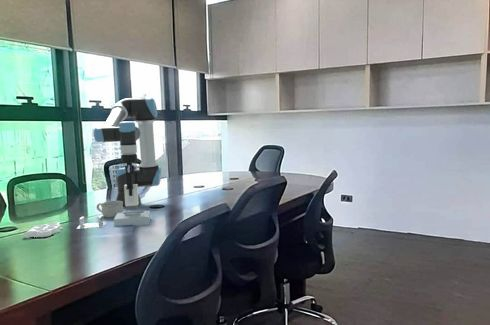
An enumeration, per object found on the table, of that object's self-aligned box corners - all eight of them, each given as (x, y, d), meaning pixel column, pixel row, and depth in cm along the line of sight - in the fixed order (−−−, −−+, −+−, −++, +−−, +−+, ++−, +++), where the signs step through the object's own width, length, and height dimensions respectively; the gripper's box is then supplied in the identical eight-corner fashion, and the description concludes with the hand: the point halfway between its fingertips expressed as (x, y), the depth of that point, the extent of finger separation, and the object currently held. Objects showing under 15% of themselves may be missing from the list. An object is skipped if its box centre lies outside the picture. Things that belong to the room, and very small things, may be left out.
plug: (126, 208, 196) (124, 184, 195) (138, 207, 197) (137, 183, 196) (125, 210, 192) (124, 185, 191) (138, 209, 193) (136, 185, 192)
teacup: (127, 215, 212) (126, 200, 212) (114, 220, 202) (113, 204, 201) (106, 214, 217) (105, 200, 216) (92, 219, 207) (91, 204, 206)
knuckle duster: (35, 230, 188) (67, 228, 190) (20, 241, 170) (56, 238, 173) (34, 223, 188) (67, 221, 190) (19, 233, 170) (56, 231, 172)
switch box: (118, 220, 201) (117, 212, 200) (150, 218, 204) (149, 210, 203) (114, 227, 187) (113, 218, 187) (149, 224, 190) (148, 215, 190)
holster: (80, 225, 194) (80, 215, 193) (106, 223, 196) (105, 213, 195) (76, 230, 184) (75, 220, 183) (103, 228, 186) (102, 218, 186)
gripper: (122, 153, 200) (125, 198, 202) (118, 155, 183) (121, 205, 185) (138, 152, 201) (140, 197, 203) (135, 154, 185) (138, 204, 187)
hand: (131, 201), depth 194 cm, fingers closed on plug, 4 cm apart
